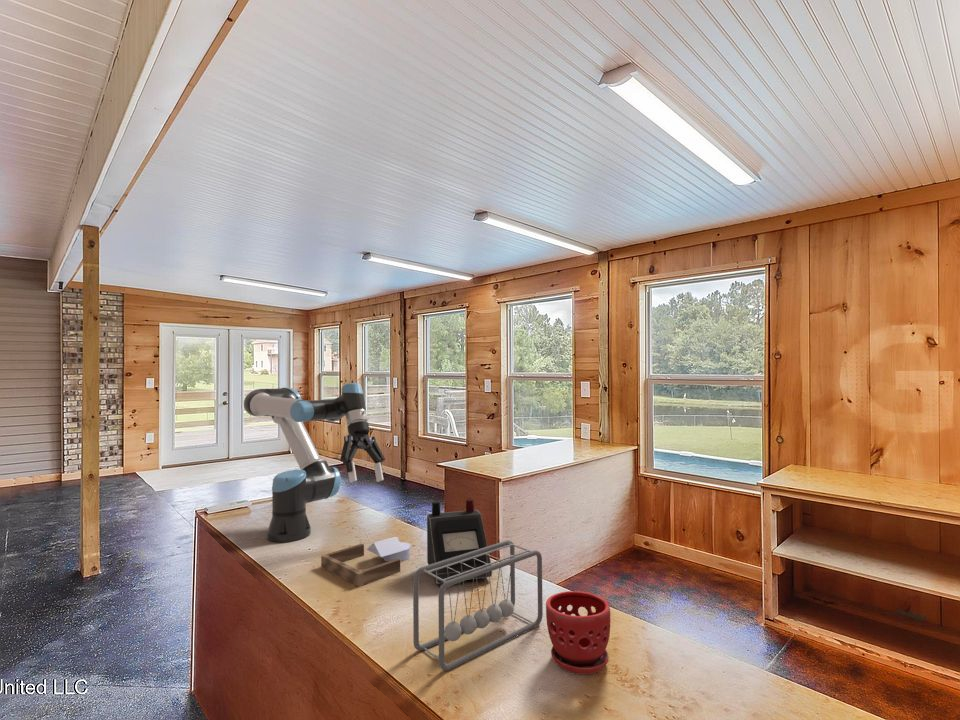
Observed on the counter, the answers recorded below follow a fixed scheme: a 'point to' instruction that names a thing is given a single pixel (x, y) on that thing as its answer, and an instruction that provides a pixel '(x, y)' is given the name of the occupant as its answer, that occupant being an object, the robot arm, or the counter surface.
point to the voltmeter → (455, 540)
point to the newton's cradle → (481, 616)
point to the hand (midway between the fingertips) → (367, 481)
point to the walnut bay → (359, 578)
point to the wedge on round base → (391, 549)
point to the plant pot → (578, 631)
